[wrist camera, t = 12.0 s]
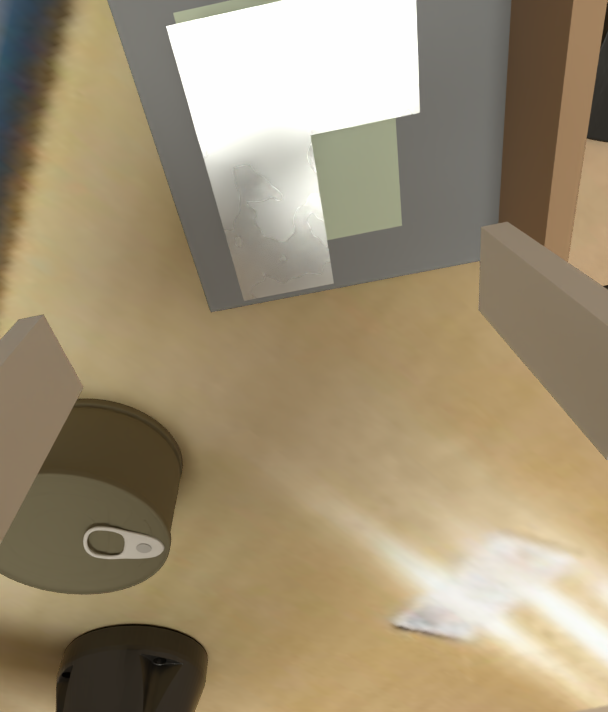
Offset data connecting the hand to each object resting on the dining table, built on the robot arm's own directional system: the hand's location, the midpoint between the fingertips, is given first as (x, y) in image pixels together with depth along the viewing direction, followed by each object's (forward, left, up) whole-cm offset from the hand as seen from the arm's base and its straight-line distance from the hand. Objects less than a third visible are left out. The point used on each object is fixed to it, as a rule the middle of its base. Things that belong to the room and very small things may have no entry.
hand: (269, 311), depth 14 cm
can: (-16, -16, -13) cm, 26 cm away
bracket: (+2, +3, -12) cm, 12 cm away
